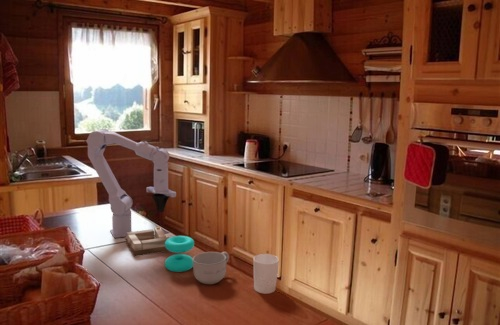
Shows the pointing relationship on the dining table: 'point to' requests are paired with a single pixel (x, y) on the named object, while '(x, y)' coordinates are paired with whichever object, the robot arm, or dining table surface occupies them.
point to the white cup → (265, 273)
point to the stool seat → (145, 242)
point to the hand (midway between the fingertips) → (161, 211)
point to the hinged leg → (159, 233)
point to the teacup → (210, 266)
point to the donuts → (179, 260)
